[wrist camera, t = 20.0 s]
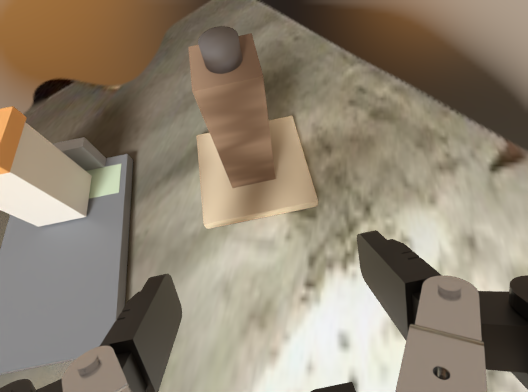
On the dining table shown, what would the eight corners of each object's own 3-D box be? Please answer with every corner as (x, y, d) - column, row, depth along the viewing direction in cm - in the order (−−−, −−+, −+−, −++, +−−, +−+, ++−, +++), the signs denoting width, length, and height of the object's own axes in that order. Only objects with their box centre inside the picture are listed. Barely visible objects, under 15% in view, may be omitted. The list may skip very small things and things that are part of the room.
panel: (-22, 379, 19) (-94, 388, 15) (30, 181, 26) (-11, 156, 23) (122, 350, 19) (82, 352, 15) (133, 160, 26) (108, 132, 23)
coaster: (207, 229, 22) (203, 224, 21) (199, 142, 27) (196, 135, 26) (317, 206, 22) (318, 200, 21) (292, 122, 26) (292, 115, 26)
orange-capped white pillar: (35, 229, 23) (-84, 178, 15) (45, 183, 25) (-55, 120, 18) (88, 218, 22) (-7, 162, 15) (94, 173, 25) (12, 106, 18)
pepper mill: (232, 188, 23) (183, 70, 13) (227, 153, 24) (180, 25, 14) (275, 179, 23) (260, 54, 13) (267, 144, 24) (248, 10, 14)
